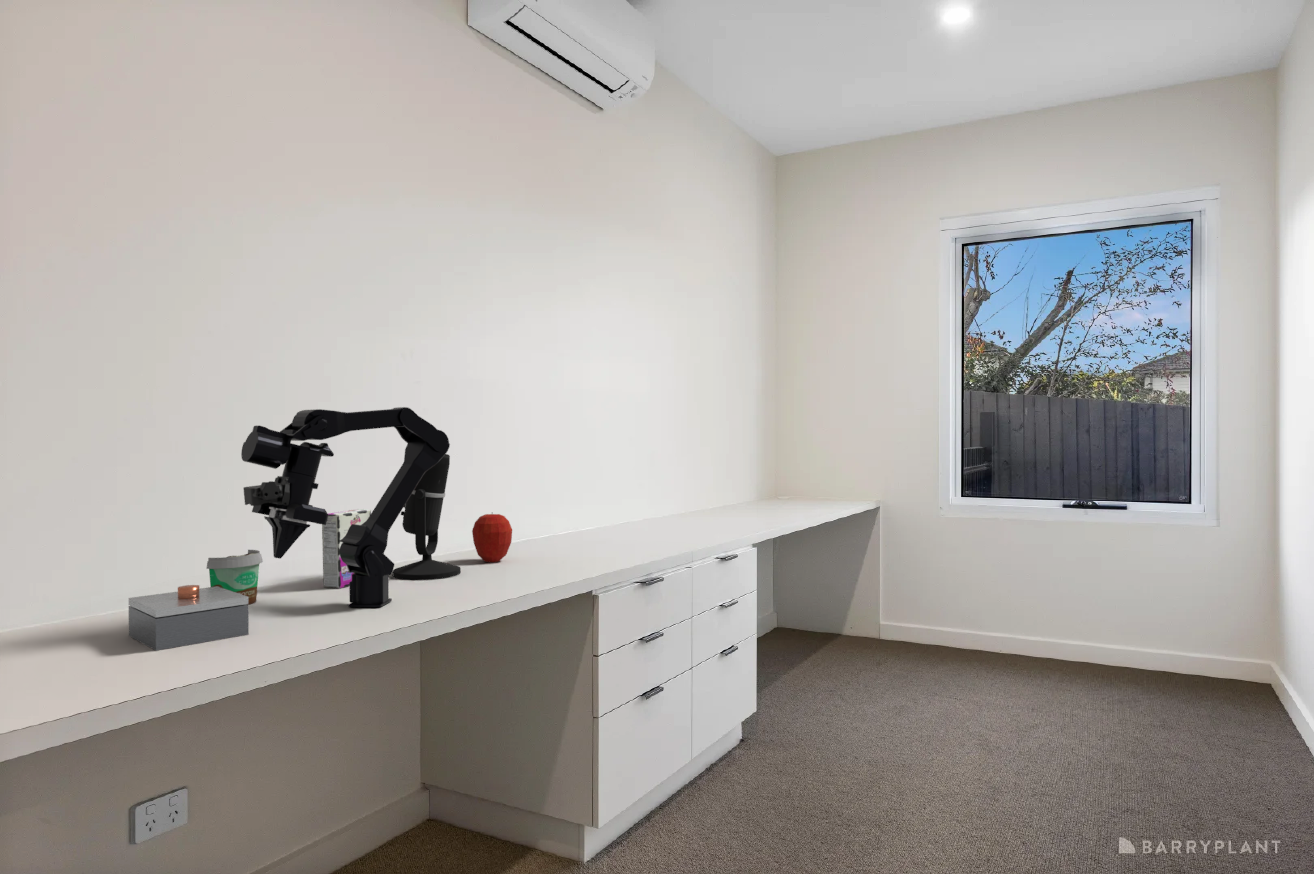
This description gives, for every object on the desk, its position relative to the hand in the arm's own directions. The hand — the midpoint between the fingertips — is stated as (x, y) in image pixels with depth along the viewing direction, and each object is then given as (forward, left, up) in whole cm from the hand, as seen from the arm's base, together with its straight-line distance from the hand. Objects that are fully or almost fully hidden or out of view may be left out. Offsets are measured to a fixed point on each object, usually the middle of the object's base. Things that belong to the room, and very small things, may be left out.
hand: (277, 557), depth 150 cm
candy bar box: (+2, -36, -12) cm, 38 cm away
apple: (-23, -69, -12) cm, 74 cm away
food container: (+14, -14, -12) cm, 23 cm away
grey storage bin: (+9, +11, -11) cm, 19 cm away
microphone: (-12, -49, -12) cm, 52 cm away
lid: (+9, +11, -6) cm, 16 cm away
